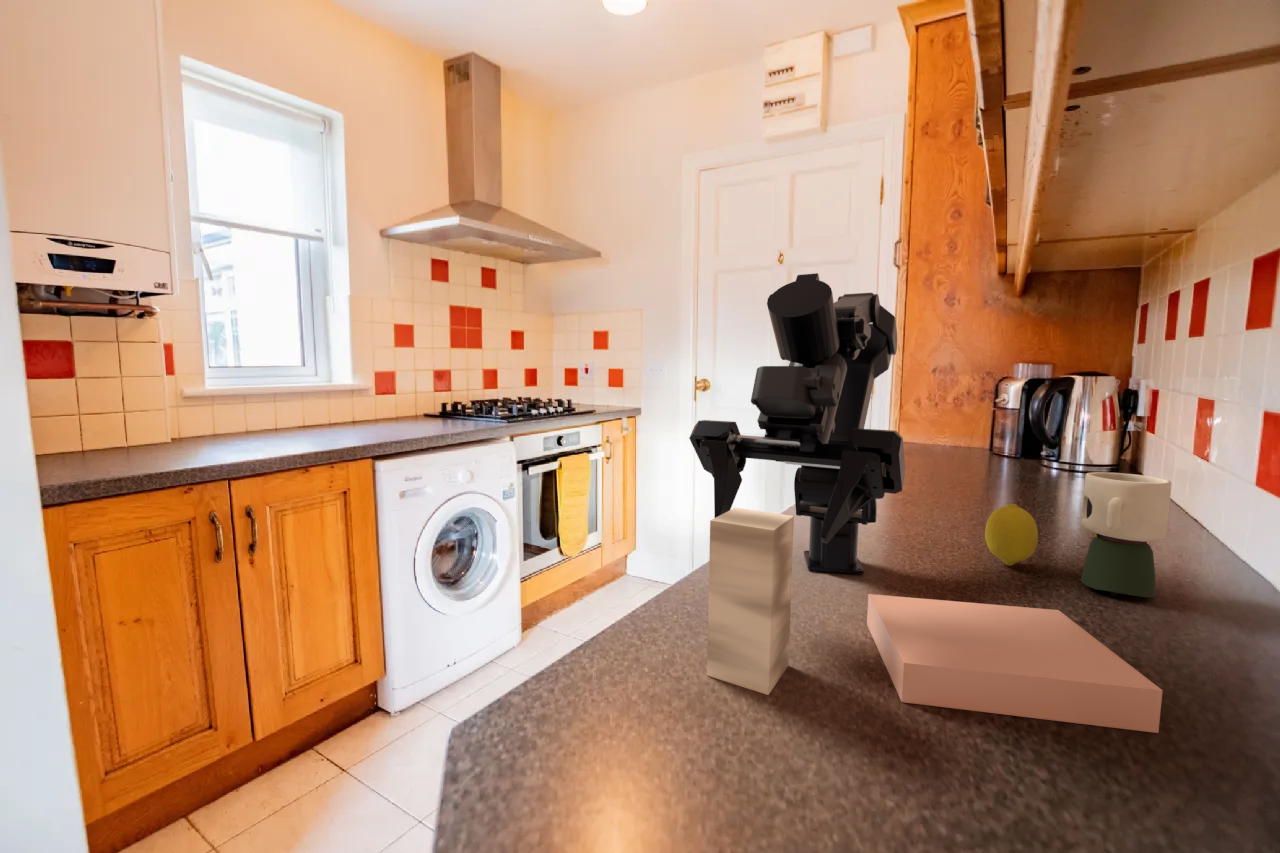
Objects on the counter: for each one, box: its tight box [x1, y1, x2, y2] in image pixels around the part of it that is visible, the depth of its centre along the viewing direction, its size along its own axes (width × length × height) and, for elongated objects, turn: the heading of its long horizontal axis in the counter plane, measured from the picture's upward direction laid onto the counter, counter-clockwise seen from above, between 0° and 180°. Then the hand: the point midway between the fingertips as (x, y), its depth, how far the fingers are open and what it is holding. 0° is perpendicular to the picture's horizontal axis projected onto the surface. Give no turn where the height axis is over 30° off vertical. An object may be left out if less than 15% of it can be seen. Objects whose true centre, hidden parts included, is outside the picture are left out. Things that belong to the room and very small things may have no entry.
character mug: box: [1080, 471, 1172, 598], centre depth 61 cm, size 11×7×13 cm, turn 129°
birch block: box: [706, 507, 795, 696], centre depth 44 cm, size 5×5×12 cm
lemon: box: [984, 503, 1039, 567], centre depth 70 cm, size 6×6×8 cm
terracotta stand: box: [866, 593, 1164, 734], centre depth 45 cm, size 13×16×3 cm
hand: (768, 531), depth 47 cm, fingers open, 9 cm apart
